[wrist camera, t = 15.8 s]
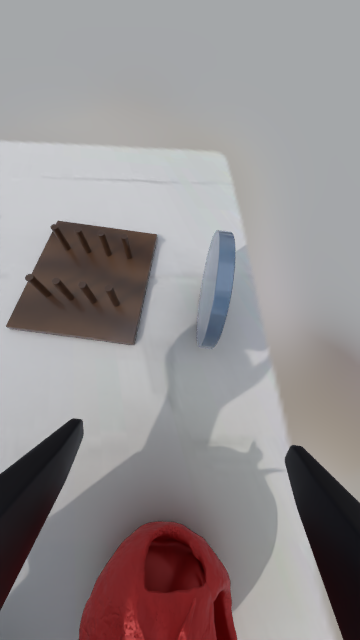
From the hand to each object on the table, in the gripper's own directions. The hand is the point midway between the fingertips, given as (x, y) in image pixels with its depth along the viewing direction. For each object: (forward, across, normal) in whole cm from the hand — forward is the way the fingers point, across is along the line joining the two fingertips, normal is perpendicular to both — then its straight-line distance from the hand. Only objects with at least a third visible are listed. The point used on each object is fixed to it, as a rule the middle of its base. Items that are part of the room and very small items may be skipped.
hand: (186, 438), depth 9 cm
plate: (+16, -2, +1) cm, 17 cm away
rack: (+19, +12, -2) cm, 23 cm away
